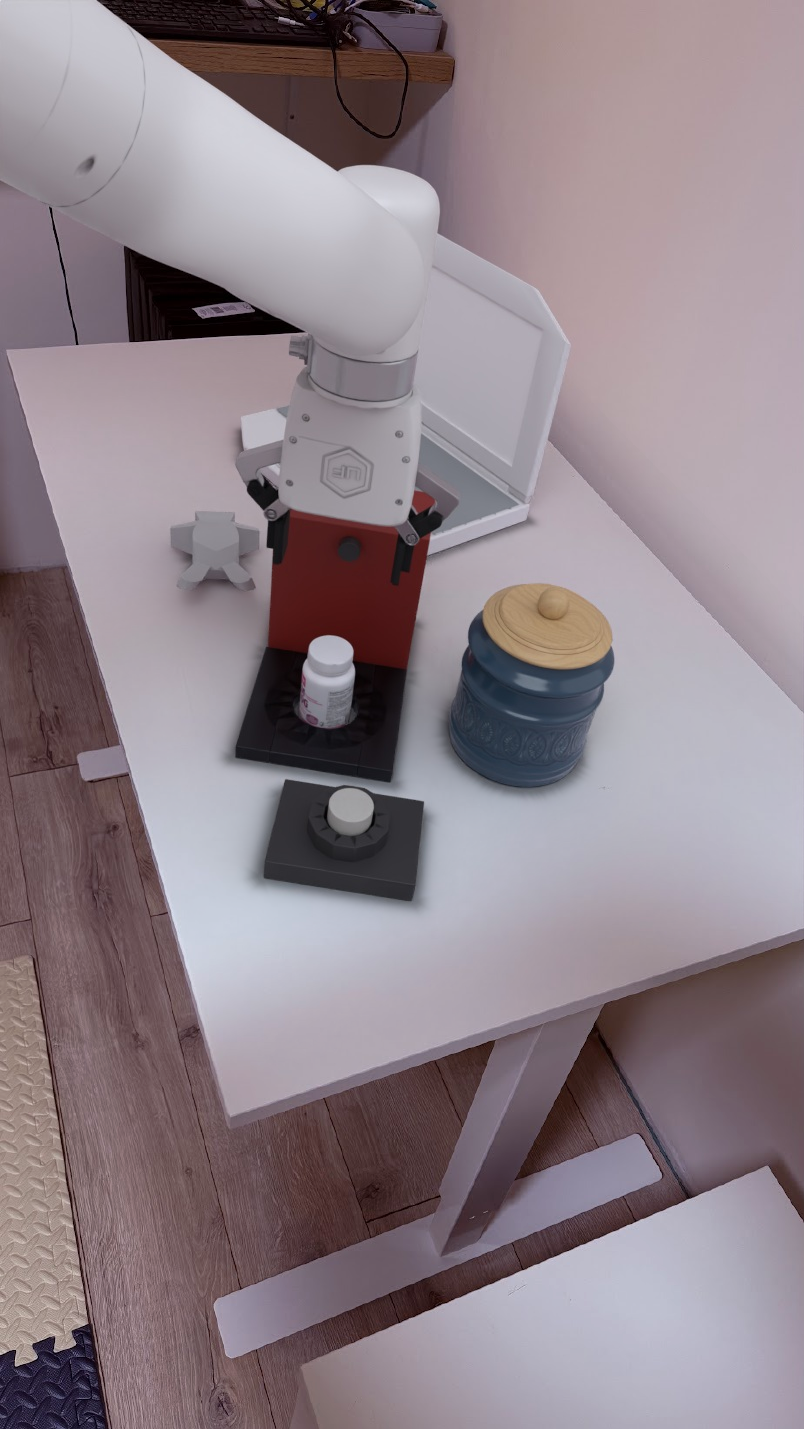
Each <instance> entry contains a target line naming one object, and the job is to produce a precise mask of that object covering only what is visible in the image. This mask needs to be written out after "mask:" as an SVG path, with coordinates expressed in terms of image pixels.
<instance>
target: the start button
mask: <svg viewBox="0 0 804 1429" xmlns="http://www.w3.org/2000/svg"><path fill="white" fill-rule="evenodd" d="M373 810H374V804H373V801H372V799H371V797H370V796H369V795H368V794H366V793H365V792H363V791H361V790H359V789H355V788H345V789H341V790H338V791H337V792H335V793H334V794H333V795H332V796H331V798H330V800H329V806H328V814H327V820H328V823H329V825H330V827H331V828H332V829H333V830H334V831H336V832H338V833H340V834H342V835H348V836H355V835H359V834H362V833H364V832H365V831H366V830H367V829H368V828H369V827H370V825H371V821H372V815H373Z"/></svg>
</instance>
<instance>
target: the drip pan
mask: <svg viewBox="0 0 804 1429" xmlns="http://www.w3.org/2000/svg"><path fill="white" fill-rule="evenodd" d="M307 657H308V653H303V652H296V651H290V650H284V649H278V648H272V647H268V646H265V649H264V651H263V655H262V659H261V662H260V664H259V669H258V672H257V674H256V677H255V682H254V685H253V688H252V691H251V695H250V698H249V701H248V703H247V707H246V711H245V714H244V717H243V720H242V724H241V727H240V731H239V734H238V736H237V740H236V743H235V747H234V748H235V749H234V750H235V753H234V754H235V756H234V757H235V758H236V759H242V760H247V761H254V762H261V763H266V764H273V765H279V766H286V767H292V768H299V769H304V770H312V771H317V772H324V773H330V774H335V775H336V774H337V775H343V776H348V777H355V778H358V779H359V778H361V779H367V780H372V781H379V782H384V783H392V779H393V778H392V777H393V772H394V766H395V758H396V751H397V743H398V737H399V729H400V724H401V723H400V722H401V717H402V716H401V715H402V708H403V702H404V701H403V700H404V696H405V694H404V693H405V687H406V680H407V674H408V668H407V669H401V668H395V667H389V666H383V665H376V664H370V663H364V662H358V661H352V663H353V665H354V667H355V679H354V687H353V695H352V703H351V708H353V710H354V712H355V715H356V716H355V717H354V718H353V720H352V721H351V722H348V723H347V725H345V726H342V727H340V728H332V729H325V728H319V727H314V726H312V725H310V724H308V723H306V722H303V721H302V720H301V719H300V717H299V716H298V715H297V712H296V710H295V707H296V706H298V704H300V696H301V683H302V670H303V665H304V662H305V660H306V659H307Z"/></svg>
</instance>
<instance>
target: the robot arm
mask: <svg viewBox="0 0 804 1429" xmlns="http://www.w3.org/2000/svg"><path fill="white" fill-rule="evenodd" d="M0 182H2V183H5V184H6V185H8V186H10V187H11V188H14V189H16V190H17V191H20V192H21V193H23V194H25V195H27V196H29V197H31V198H33V199H35V200H36V201H38V202H40V203H42V204H43V205H46V206H48V207H50V208H51V209H53V210H55V211H57V212H59V213H61V214H63V215H64V216H67V217H69V218H70V219H72V220H74V221H76V222H77V223H78V224H81V225H82V226H83V225H84V226H86V227H87V228H89V229H91V230H93V231H95V232H97V233H99V234H101V235H103V236H106V237H107V238H109V239H111V240H113V241H115V242H117V243H119V244H121V245H123V246H125V247H127V248H129V249H130V250H133V251H135V252H136V253H138V254H140V255H142V256H145V257H146V258H149V259H152V260H154V261H157V262H158V263H161V264H164V265H166V266H169V267H171V268H174V269H178V270H180V271H183V272H185V273H188V274H189V275H190V274H191V275H192V276H195V277H198V278H200V279H202V280H205V281H208V282H209V283H212V284H214V285H217V286H219V287H220V288H223V289H225V290H226V291H227V292H229V293H230V294H232V296H235V297H236V298H238V299H240V300H241V301H244V302H245V303H248V304H249V305H251V306H253V307H255V308H257V309H259V310H261V311H263V312H265V313H267V314H268V315H271V316H272V317H274V318H276V319H280V320H281V321H284V322H286V323H288V324H290V325H291V326H294V327H295V328H298V329H299V330H301V331H303V332H305V333H307V335H302V336H295V335H291V336H290V339H289V345H288V355H289V356H291V357H297V358H298V360H303V362H304V363H303V364H304V365H305V366H304V367H303V368H302V369H301V371H300V372H299V373H298V375H297V376H296V379H295V382H294V385H293V389H292V392H291V396H290V400H289V404H288V405H289V409H288V414H287V420H286V426H285V433H284V439H283V440H280V441H276V442H273V443H270V444H266V445H263V446H259V447H256V448H252V449H249V450H245V451H244V450H242V451H240V452H239V453H238V455H237V457H236V460H235V461H234V465H235V468H236V470H237V471H238V474H239V476H240V478H241V480H242V482H243V484H245V486H246V492H247V494H248V496H249V497H250V498H251V499H252V500H253V501H254V502H255V503H256V505H258V507H260V509H261V510H262V511H263V517H264V518H265V520H267V530H266V544H265V545H266V546H265V547H266V549H271V550H272V557H273V561H272V560H271V565H272V564H275V565H279V564H282V561H283V558H284V555H285V552H286V549H287V545H288V534H289V522H290V509H293V510H296V511H299V512H303V513H308V514H314V515H319V516H325V517H330V518H336V519H341V520H347V521H353V522H359V523H365V524H371V525H377V526H385V527H393V526H394V527H395V528H396V530H397V531H398V538H397V544H396V550H395V556H394V562H393V568H392V574H391V580H390V583H392V585H396V586H398V585H399V579H400V573H401V571H402V572H408V573H409V572H410V566H411V561H412V555H413V550H414V545H416V544H417V543H418V542H419V539H421V538H422V537H424V536H426V535H427V534H429V533H431V532H432V531H434V530H436V529H437V528H439V527H440V526H441V525H442V522H443V521H444V520H445V519H446V518H447V517H448V516H449V515H450V514H451V513H452V512H453V510H454V509H455V508H456V507H457V506H458V504H459V498H460V492H459V491H458V490H457V489H456V488H455V487H453V486H452V485H450V484H449V483H447V482H446V481H445V480H443V479H442V478H440V477H439V476H438V475H436V474H435V473H433V472H432V471H430V470H429V469H428V468H426V467H425V466H423V465H422V464H421V463H419V462H418V459H419V450H420V439H421V395H420V389H419V387H418V386H417V385H416V384H415V383H414V375H415V369H416V363H417V357H418V350H419V344H420V338H421V332H422V326H423V319H424V313H425V307H426V301H427V294H428V288H429V282H430V275H431V269H432V263H433V256H434V250H435V244H436V238H437V233H438V232H439V231H438V230H439V224H440V215H441V206H440V199H439V196H438V194H437V192H436V189H435V188H434V187H433V186H432V185H431V184H430V183H429V182H428V181H427V180H426V179H424V178H422V177H420V176H418V175H416V174H414V173H411V172H409V171H406V170H402V169H398V168H395V167H389V166H384V165H375V164H359V165H358V164H357V165H351V166H346V167H343V168H341V169H339V170H338V171H337V170H336V169H334V167H331V166H330V165H329V164H327V163H326V162H324V161H322V160H321V159H319V158H318V157H317V156H315V155H314V154H312V153H311V152H310V151H307V150H306V149H305V148H303V147H301V145H299V144H297V143H296V142H294V141H293V140H291V139H290V138H288V137H286V136H285V135H283V134H282V133H280V132H279V131H277V130H276V129H274V128H273V127H272V126H270V125H268V124H267V123H265V122H264V121H263V120H261V119H260V118H258V117H257V116H256V115H254V114H253V113H252V112H250V111H248V109H246V108H245V107H243V106H242V105H240V103H238V102H236V100H234V99H233V98H231V97H230V96H229V95H227V94H226V93H224V92H223V91H222V90H220V89H218V88H217V87H216V86H214V85H212V84H211V83H210V82H208V81H206V80H205V79H203V78H202V77H200V76H199V75H197V74H195V73H194V72H193V71H191V70H189V69H188V68H187V67H185V66H183V65H181V63H179V62H178V61H176V60H175V59H174V58H172V57H170V55H168V54H166V52H164V51H163V50H161V49H160V48H159V47H157V46H156V45H155V44H154V43H153V42H151V41H149V39H147V38H146V37H144V36H143V35H142V34H141V33H139V32H138V31H136V29H134V28H133V27H131V25H129V24H127V22H126V21H124V20H123V19H122V18H120V17H119V16H118V15H116V14H114V13H113V12H112V11H111V10H109V9H108V8H107V7H106V6H104V5H103V4H102V3H101V2H99V1H98V0H0ZM278 463H281V464H280V473H279V485H278V487H277V486H276V487H274V486H273V484H271V482H270V480H269V479H267V478H266V477H265V476H264V475H263V474H262V473H261V471H260V468H263V467H267V466H270V465H274V464H278ZM415 486H416V487H417V488H419V489H420V490H422V491H423V492H425V493H426V494H428V495H429V496H430V497H432V498H433V499H435V500H436V502H435V503H434V505H432V506H430V507H429V508H427V509H425V510H424V511H422V512H420V513H419V514H418V513H417V511H416V510H415V508H414V507H413V505H412V500H413V495H414V489H415Z"/></svg>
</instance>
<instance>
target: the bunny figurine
mask: <svg viewBox="0 0 804 1429" xmlns="http://www.w3.org/2000/svg"><path fill="white" fill-rule="evenodd" d="M169 532H170V547H171V548H173V549H176V550H179V551H182V552H185V553H187V554H189V555H191V556H192V564H191V565H190V566H189V567H188V568H186V569H185V570H184V571H183V572H182V573H181V575H180V577H179V579H178V581H177V582H176V587H177V588H178V589H179V590H183V591H189V590H194V589H195V588H196V587H197V586H198V585H199V584H201V582H202V581H206V580H207V579H210V580H225V581H227V582H231V583H232V584H233V586H235V587H236V588H237V590H240V591H244V592H252V591H254V590H256V589H257V588H256V584H255V581H254V580H253V577H252V575H251V574H250V573H249V572H248V571H246V570H245V569H244V568H243V567H242V566H241V565H240V556H242V555H245V554H248V553H252V552H253V551H256V550H259V549H260V532H261V530H260V529H259V528H258V527H253V526H249V525H246V524H242V523H238V522H236V512H235V511H215V510H195V511H194V521H190V522H183V523H179V524H174V525H171V526H170V529H169Z"/></svg>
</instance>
